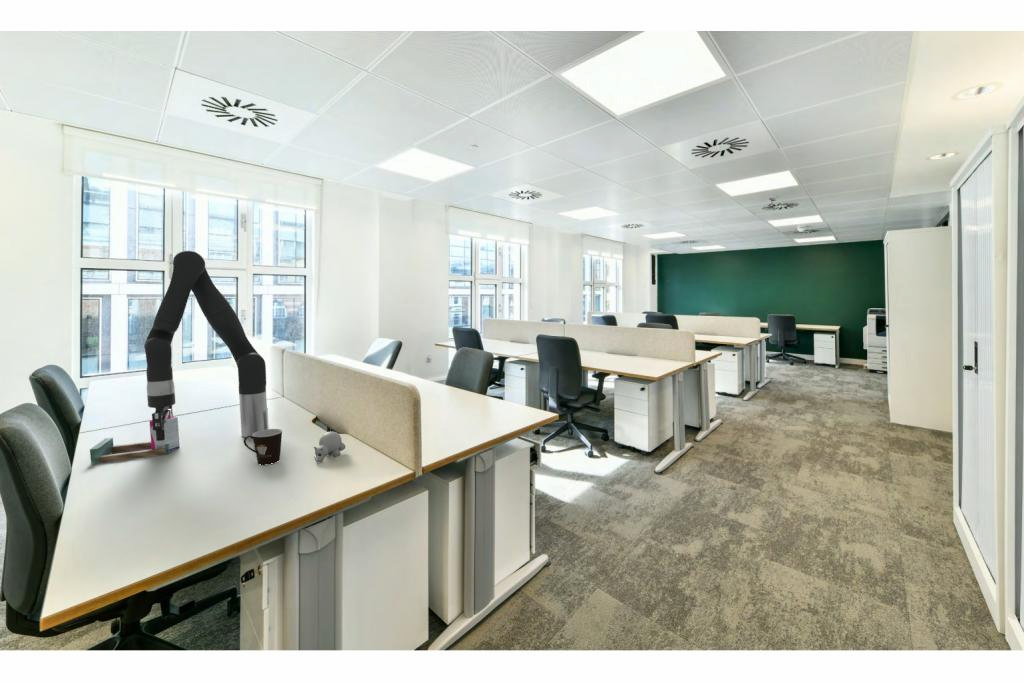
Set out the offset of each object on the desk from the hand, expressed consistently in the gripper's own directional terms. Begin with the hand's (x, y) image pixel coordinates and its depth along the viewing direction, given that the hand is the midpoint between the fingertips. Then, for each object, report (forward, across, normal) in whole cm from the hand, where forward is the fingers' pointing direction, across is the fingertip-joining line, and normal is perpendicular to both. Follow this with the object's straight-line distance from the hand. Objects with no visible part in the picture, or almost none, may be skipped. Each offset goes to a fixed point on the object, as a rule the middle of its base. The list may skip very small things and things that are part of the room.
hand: (164, 436), depth 148 cm
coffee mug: (+5, -28, -33) cm, 44 cm away
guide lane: (+5, 0, +8) cm, 9 cm away
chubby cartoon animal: (+5, -34, -52) cm, 63 cm away
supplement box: (+5, 0, 0) cm, 5 cm away
